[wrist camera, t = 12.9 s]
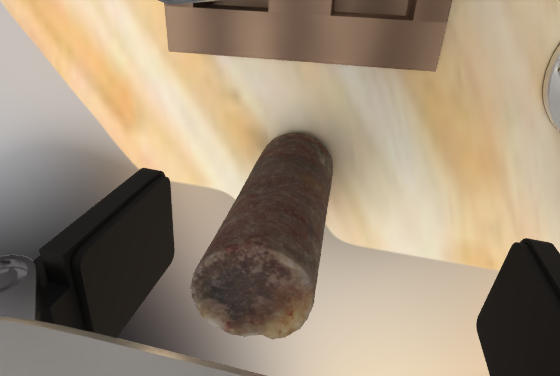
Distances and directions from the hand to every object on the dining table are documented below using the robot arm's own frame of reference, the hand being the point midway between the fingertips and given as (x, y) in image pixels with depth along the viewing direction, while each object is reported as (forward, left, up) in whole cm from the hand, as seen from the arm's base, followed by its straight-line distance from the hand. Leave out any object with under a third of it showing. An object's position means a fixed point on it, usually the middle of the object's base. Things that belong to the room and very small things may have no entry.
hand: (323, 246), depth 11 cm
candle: (+4, +10, -27) cm, 29 cm away
